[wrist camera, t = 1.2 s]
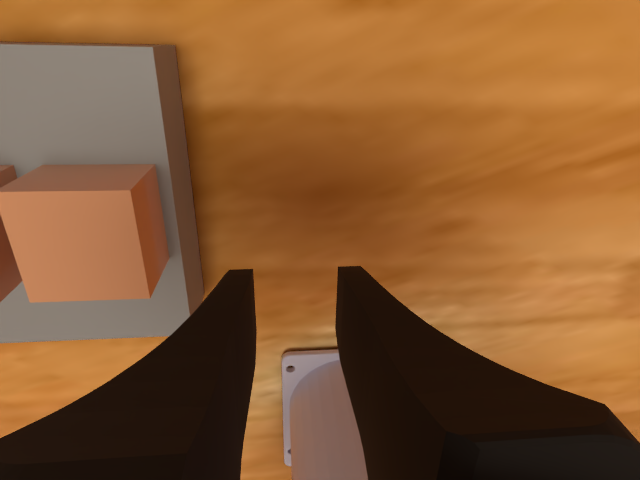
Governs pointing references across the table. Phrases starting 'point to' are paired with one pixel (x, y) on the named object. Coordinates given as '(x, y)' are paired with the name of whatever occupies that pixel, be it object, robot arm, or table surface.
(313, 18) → the table surface
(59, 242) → the orange brown block
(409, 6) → the table surface
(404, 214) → the table surface
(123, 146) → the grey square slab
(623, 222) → the table surface
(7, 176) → the terracotta block
